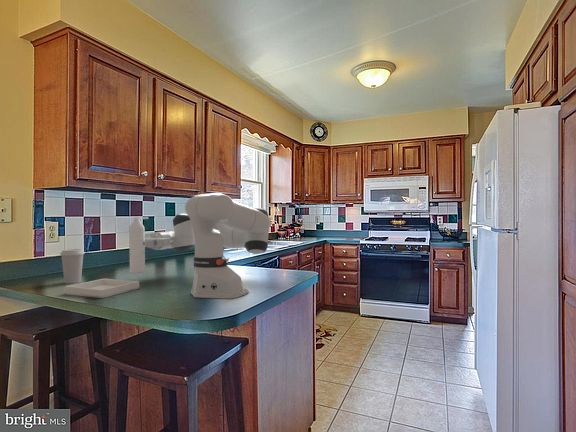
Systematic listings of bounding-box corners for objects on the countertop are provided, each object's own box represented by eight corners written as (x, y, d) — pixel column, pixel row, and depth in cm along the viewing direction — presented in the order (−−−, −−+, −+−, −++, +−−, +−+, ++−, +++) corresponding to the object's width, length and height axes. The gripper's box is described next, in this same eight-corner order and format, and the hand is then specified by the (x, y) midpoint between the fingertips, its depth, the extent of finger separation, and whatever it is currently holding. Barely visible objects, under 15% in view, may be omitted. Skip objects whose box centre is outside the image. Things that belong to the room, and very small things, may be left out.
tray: (139, 288, 145) (139, 281, 145) (102, 298, 129) (101, 290, 129) (104, 285, 153) (104, 278, 153) (64, 294, 136) (64, 286, 136)
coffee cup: (69, 285, 154) (68, 251, 154) (55, 283, 158) (55, 250, 158) (89, 281, 163) (89, 249, 163) (76, 279, 167) (75, 248, 167)
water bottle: (134, 274, 153) (133, 217, 153) (126, 272, 157) (126, 217, 157) (152, 271, 160) (151, 217, 160) (144, 269, 164) (144, 216, 164)
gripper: (176, 247, 167) (155, 250, 154) (143, 246, 174) (120, 249, 161) (176, 234, 167) (155, 236, 154) (143, 234, 174) (120, 235, 161)
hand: (137, 243), depth 158 cm, fingers closed on water bottle, 6 cm apart
